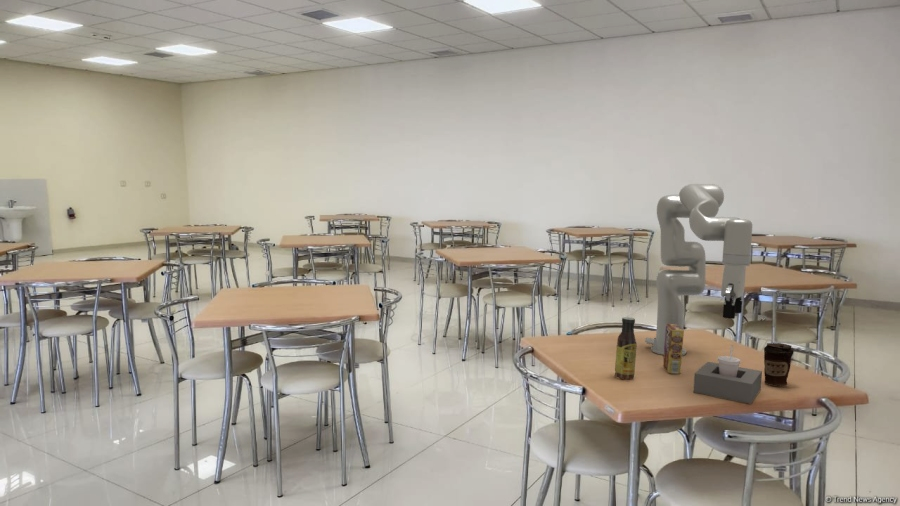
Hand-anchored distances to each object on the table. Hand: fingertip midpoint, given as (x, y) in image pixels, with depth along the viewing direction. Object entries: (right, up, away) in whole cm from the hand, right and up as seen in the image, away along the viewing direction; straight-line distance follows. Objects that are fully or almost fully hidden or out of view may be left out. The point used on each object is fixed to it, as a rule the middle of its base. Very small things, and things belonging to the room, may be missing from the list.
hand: (732, 315), depth 182 cm
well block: (0, -24, +3) cm, 24 cm away
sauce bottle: (-29, -22, +15) cm, 39 cm away
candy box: (-10, -22, +23) cm, 33 cm away
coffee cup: (+19, -23, +10) cm, 31 cm away
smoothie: (0, -23, +3) cm, 24 cm away
